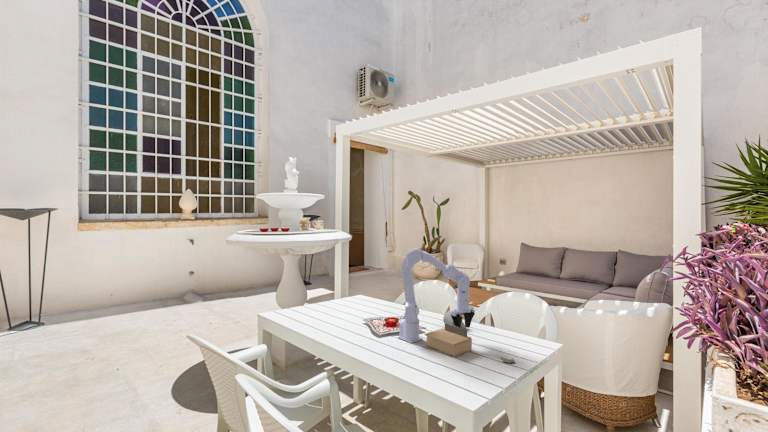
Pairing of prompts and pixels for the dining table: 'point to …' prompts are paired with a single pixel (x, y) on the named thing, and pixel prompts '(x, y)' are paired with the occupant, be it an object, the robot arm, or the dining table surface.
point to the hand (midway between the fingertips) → (462, 328)
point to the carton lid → (450, 334)
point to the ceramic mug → (449, 318)
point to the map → (507, 360)
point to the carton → (450, 347)
